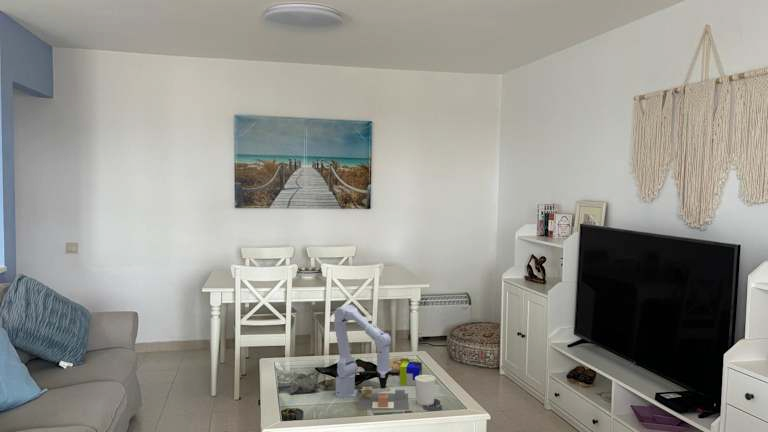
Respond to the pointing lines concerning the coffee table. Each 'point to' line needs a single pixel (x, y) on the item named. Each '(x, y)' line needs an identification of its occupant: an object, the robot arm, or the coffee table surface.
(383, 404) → the terracotta block
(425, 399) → the candle holder
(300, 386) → the mineral rock
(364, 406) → the mat
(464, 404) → the coffee table surface
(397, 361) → the nautilus
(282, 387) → the coffee table surface
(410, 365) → the puzzle toy
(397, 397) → the slate block
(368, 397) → the beech block
